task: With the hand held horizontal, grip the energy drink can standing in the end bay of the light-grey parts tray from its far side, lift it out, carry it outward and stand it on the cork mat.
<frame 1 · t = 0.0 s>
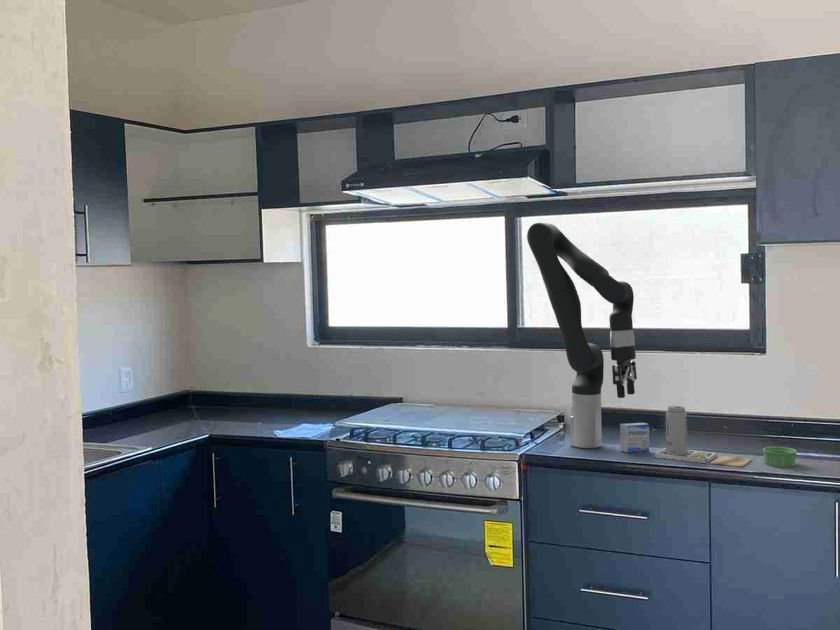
hand: (626, 395, 262), 17 cm above the worktop, tool pointing down, fingers open, 8 cm apart
parts tray: (685, 457, 251), on the worktop
medicine box: (634, 451, 261), on the worktop
cork mat: (731, 462, 244), on the worktop
ramekin: (779, 465, 240), on the worktop
energy drink can: (676, 456, 253), resting in parts tray
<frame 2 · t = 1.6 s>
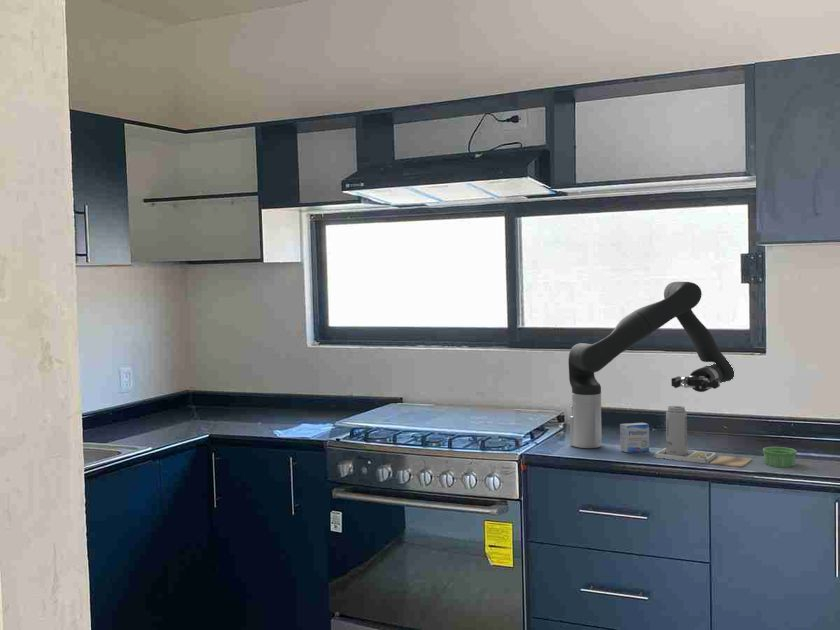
hand: (688, 385, 261), 20 cm above the worktop, tool horizontal, fingers open, 8 cm apart
nothing on the worktop moved.
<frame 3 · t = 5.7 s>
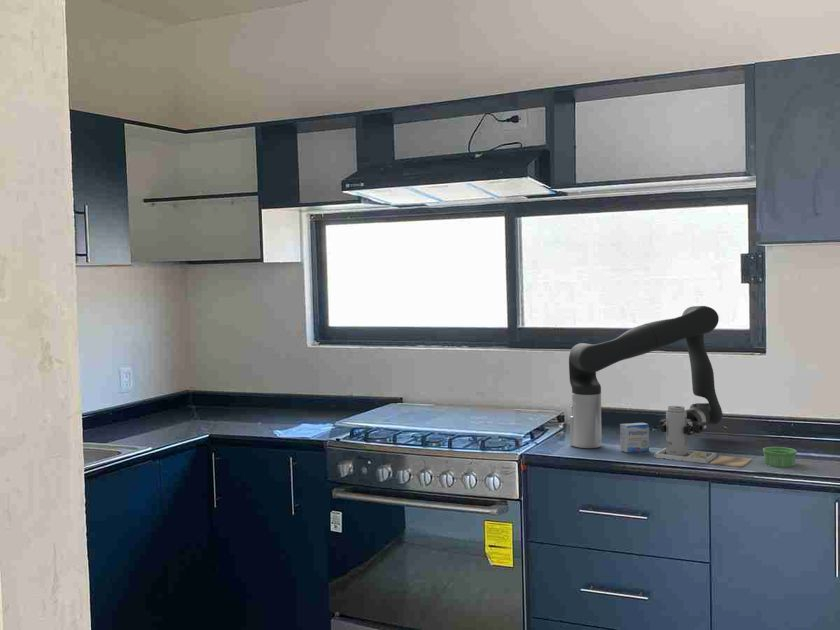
hand: (674, 429, 250), 9 cm above the worktop, tool horizontal, fingers closed on energy drink can, 6 cm apart
energy drink can: (676, 456, 253), resting in parts tray, touching gripper
everything else where it was.
when the fingers open (9 cm above the worktop, at t = 11.0 s): energy drink can stays where it is, resting on cork mat.
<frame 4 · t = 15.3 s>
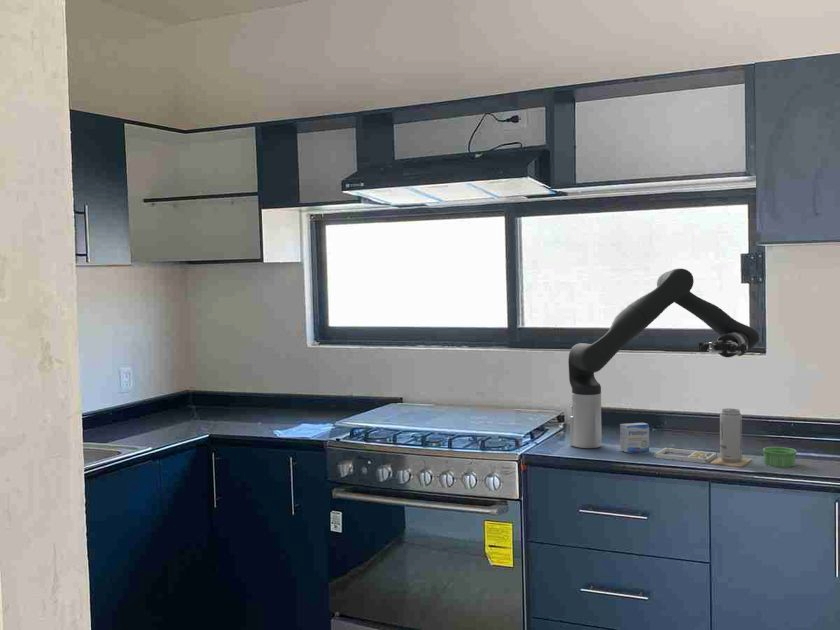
hand: (716, 348, 257), 32 cm above the worktop, tool horizontal, fingers open, 8 cm apart
energy drink can: (730, 461, 244), resting on cork mat
everything else where it was.
at the end: energy drink can inside the target area on the cork mat (0.2 cm from its centre), point 0.2 cm above the cork mat's base; energy drink can tilted 0°; the gripper is holding nothing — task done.
